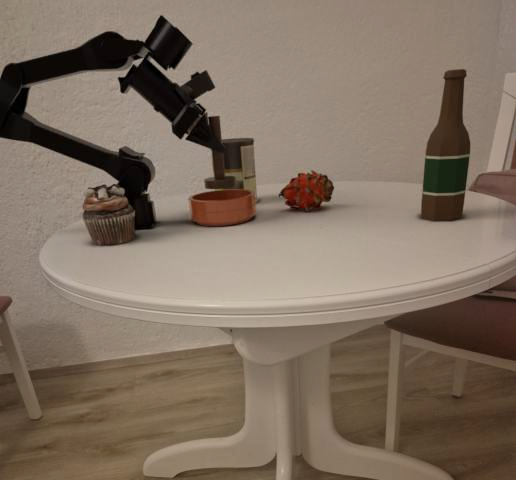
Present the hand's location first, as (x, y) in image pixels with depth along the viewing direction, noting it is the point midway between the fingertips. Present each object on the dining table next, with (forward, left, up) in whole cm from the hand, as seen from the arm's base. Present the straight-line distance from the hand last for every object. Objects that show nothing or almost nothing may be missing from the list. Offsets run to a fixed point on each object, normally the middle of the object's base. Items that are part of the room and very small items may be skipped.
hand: (224, 150), depth 95 cm
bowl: (-1, 0, -13) cm, 13 cm away
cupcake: (-22, -10, -14) cm, 28 cm away
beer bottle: (+40, -13, -14) cm, 44 cm away
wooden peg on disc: (-1, 0, -7) cm, 7 cm away
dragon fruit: (+17, +3, -14) cm, 22 cm away
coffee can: (+2, +18, -14) cm, 23 cm away
